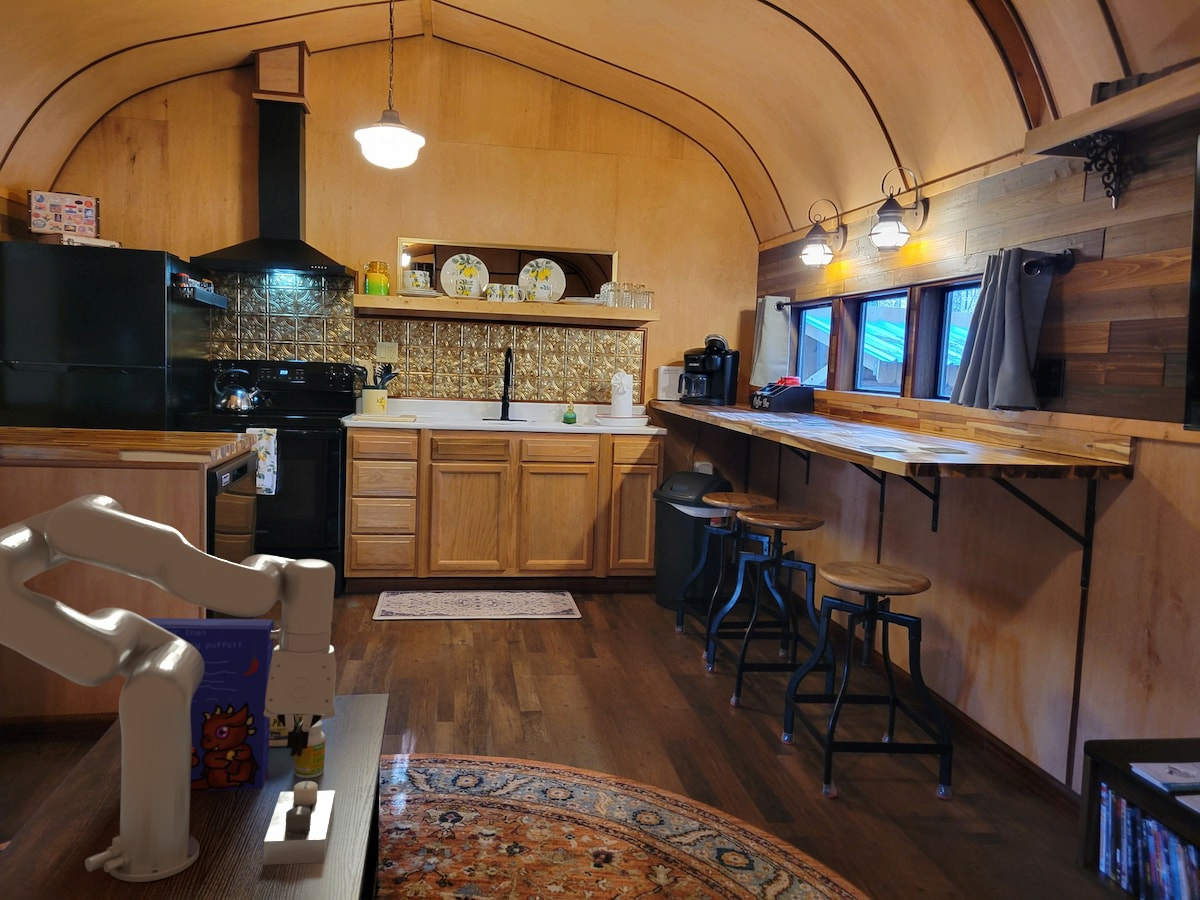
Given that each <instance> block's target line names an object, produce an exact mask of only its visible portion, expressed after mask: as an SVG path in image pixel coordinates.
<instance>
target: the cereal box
mask: <svg viewBox="0 0 1200 900" xmlns="http://www.w3.org/2000/svg"><path fill="white" fill-rule="evenodd" d="M145 619H147V620H149V621H151V622H152V623H154V624H156V625H158V626H160V627H162V628H163V629H165V630H167V631H169V632H171V633H172V634H174V635H176V636H178V637H180V638H182V639H183V640H185V641H187V642H188V643H190V644H191V645H192V646H194V647H195V648H196V649H197V650H198V651H199V653H200V654H201V656H202V658H203V661H204V666H205V670H204V676H203V679H202V681H201V683H200V685H199V687H198V688H197V690H196V693H195V694H194V696H193V698H192V702H191V712H190V717H191V733H192V750H191V783H190V792H193V791H194V792H197V791H200V792H201V791H232V790H235V791H237V790H262V789H263V787H264V785H265V782H266V780H267V777H268V774H269V773H268V772H269V753H270V752H269V750H270V746H269V729H270V717H266V716H264V710H265V697H266V688H267V680H268V673H269V667H270V661H271V657H272V653H273V650H274V648H273V647H274V639H270V633H271V631H274V629H275V628H274V621H275V619H260V618H259V619H257V618H256V619H255V618H254V619H249V618H241V619H240V618H178V617H177V618H172V617H171V618H168V617H162V618H161V617H159V618H157V617H146V618H145ZM265 779H266V780H265Z"/></svg>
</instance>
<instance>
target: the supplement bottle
mask: <svg viewBox="0 0 1200 900" xmlns="http://www.w3.org/2000/svg"><path fill="white" fill-rule="evenodd" d="M302 722H303V721H302ZM302 722H301V723H302ZM301 723H300V726H301ZM325 751H326V734H325V733H324V732H323V722H322V720H319V721H318V722H317V723H316V724H315V725H313V726H312V727H311V728H310V729H309V737H308V747H307V749H303V752H302V755H301V756H298V755H294V767H293V768H294V769H293V772H294V775H295V776H296V777H298V778H303V779H312V778H313V779H314V778H316V777H319V776H321V775H322V774H323V773H324V770H325V754H326V752H325ZM296 754H297V752H296Z"/></svg>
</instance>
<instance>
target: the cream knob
mask: <svg viewBox="0 0 1200 900" xmlns="http://www.w3.org/2000/svg"><path fill="white" fill-rule="evenodd" d="M318 786H319V785H318V783H316V782H315V781H309V780H305V781H300V782H297V783H296V784H295V785H294V786H293V792H294V800H293V802H294V803H295V804H297V805H300V807H306V808H309V809H310V804H313V803H315V802H316V801H317V791H319V790H318V788H319V787H318Z"/></svg>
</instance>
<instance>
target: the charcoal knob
mask: <svg viewBox="0 0 1200 900" xmlns="http://www.w3.org/2000/svg"><path fill="white" fill-rule="evenodd" d="M310 827H311V810H310V809H309V808H306V807H295V808H292V809H290V810H288V811H287V812H286V826H285V829H286V831H287V832H289V833H292V836H304V833H305V832H307V830H309V829H310Z"/></svg>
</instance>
